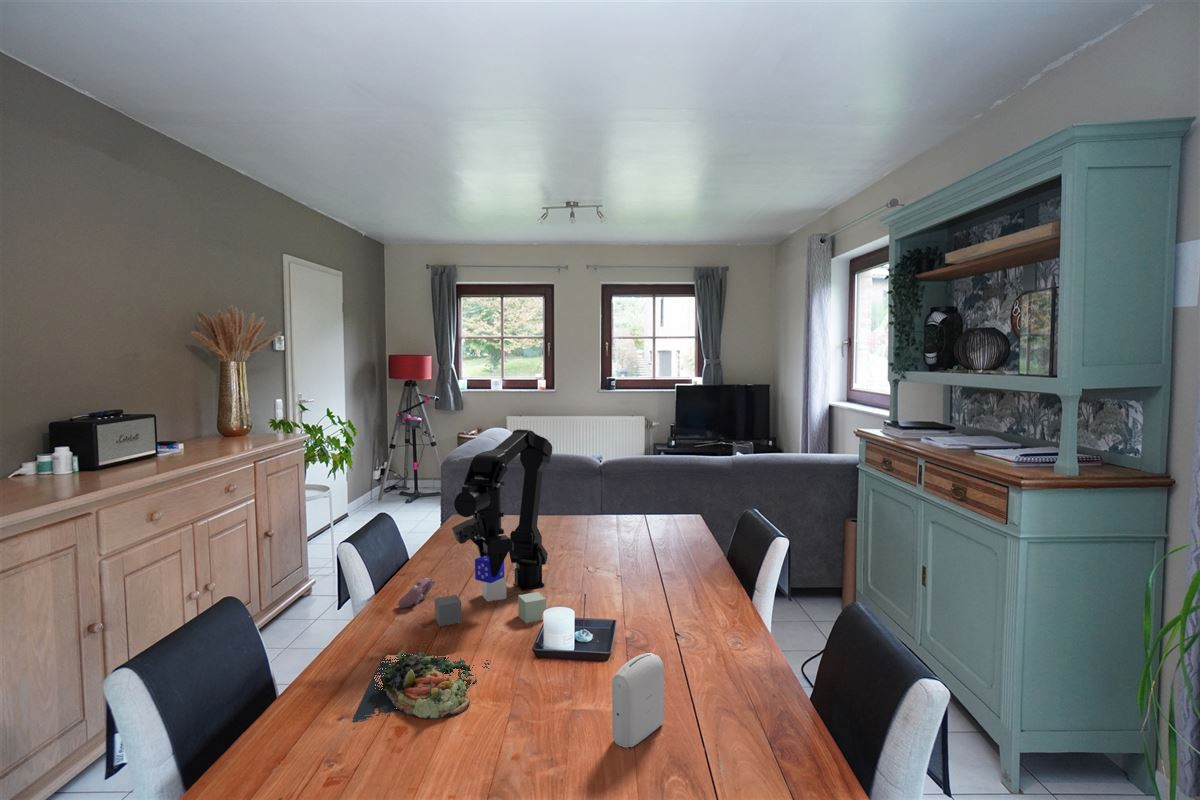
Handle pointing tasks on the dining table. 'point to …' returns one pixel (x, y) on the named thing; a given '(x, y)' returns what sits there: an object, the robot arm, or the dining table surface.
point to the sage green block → (531, 607)
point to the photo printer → (637, 699)
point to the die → (486, 570)
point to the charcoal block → (448, 610)
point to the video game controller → (416, 593)
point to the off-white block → (494, 590)
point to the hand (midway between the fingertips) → (489, 572)
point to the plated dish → (417, 688)
